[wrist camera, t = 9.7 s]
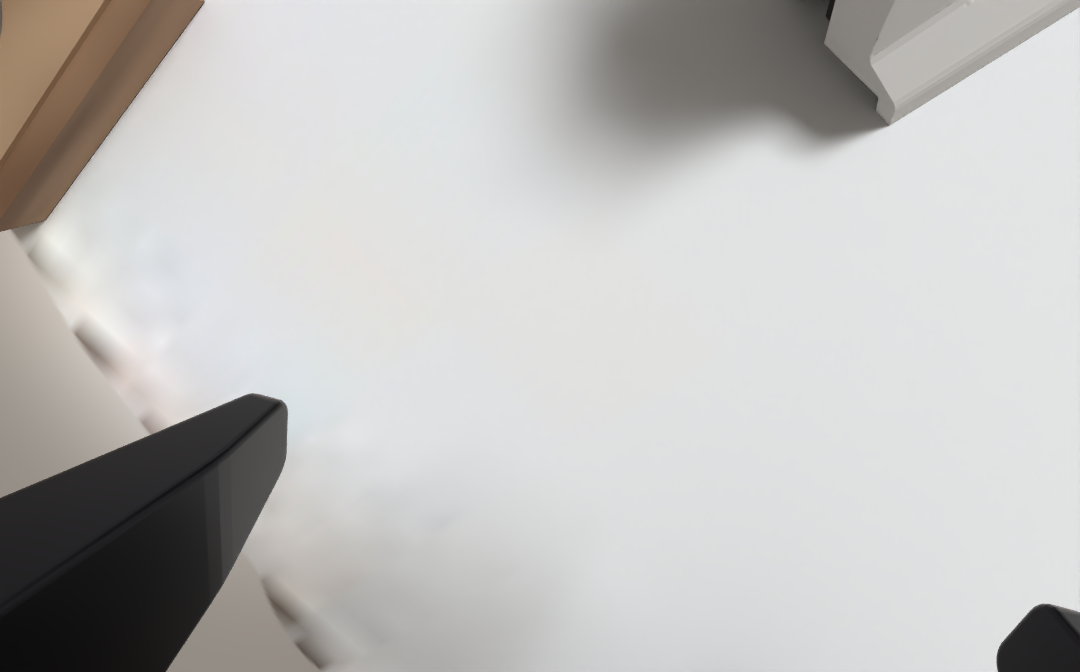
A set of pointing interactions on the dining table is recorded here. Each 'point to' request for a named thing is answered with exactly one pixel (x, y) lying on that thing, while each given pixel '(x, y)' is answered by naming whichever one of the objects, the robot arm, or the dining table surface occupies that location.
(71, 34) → the stand
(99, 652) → the robot arm
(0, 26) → the tin
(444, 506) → the dining table surface
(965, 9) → the hinge
